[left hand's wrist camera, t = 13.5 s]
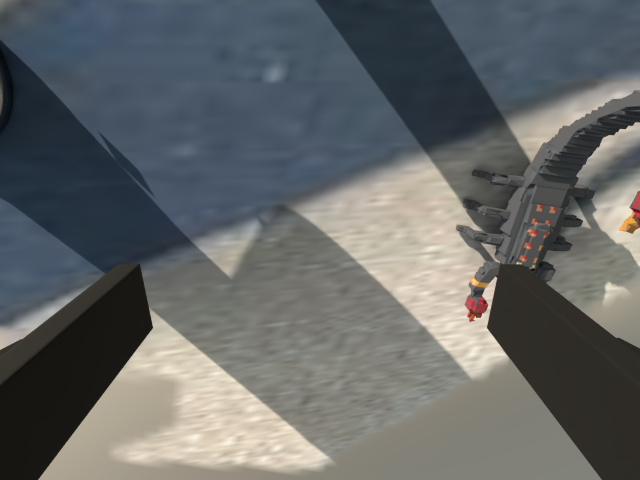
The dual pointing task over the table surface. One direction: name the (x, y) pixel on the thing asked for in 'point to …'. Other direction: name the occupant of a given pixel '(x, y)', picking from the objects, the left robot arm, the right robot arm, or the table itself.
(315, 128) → the table surface
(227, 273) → the table surface
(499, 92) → the table surface
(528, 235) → the toy
